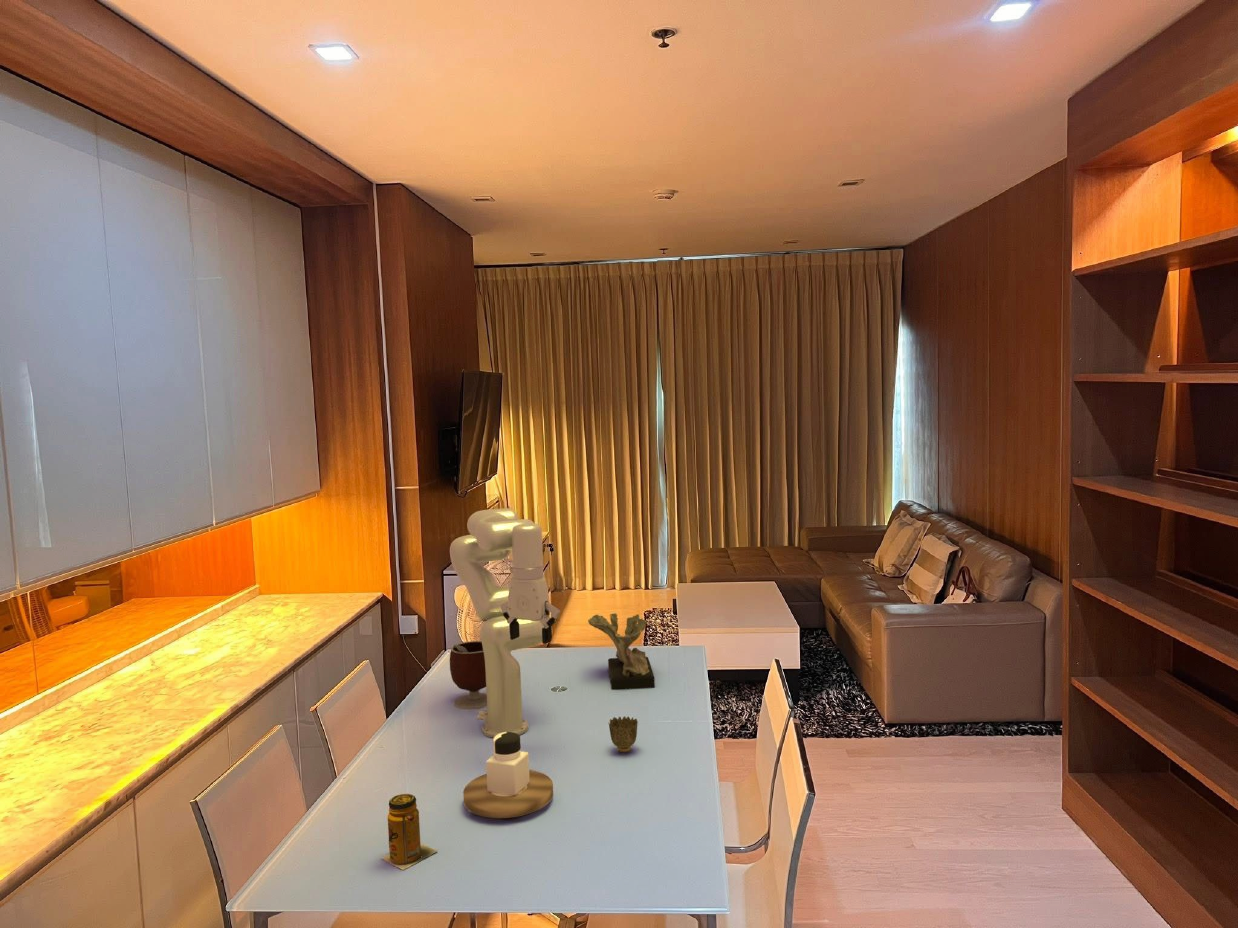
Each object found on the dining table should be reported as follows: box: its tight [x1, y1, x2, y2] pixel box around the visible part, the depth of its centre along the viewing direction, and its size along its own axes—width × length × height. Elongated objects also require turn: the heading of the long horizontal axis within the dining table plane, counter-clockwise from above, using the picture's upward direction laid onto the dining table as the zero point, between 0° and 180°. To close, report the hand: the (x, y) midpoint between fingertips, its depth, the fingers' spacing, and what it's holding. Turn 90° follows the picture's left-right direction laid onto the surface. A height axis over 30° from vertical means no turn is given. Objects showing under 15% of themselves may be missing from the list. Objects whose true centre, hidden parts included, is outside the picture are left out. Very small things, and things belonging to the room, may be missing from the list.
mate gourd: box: [449, 640, 487, 710], centre depth 254 cm, size 16×14×20 cm
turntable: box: [462, 769, 554, 819], centre depth 188 cm, size 20×20×6 cm
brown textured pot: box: [608, 715, 639, 754], centre depth 214 cm, size 8×7×8 cm
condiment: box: [381, 793, 438, 871], centre depth 167 cm, size 7×8×12 cm
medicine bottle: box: [485, 732, 530, 796], centre depth 188 cm, size 7×7×12 cm
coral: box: [587, 613, 656, 691], centre depth 270 cm, size 25×20×22 cm
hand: (530, 640), depth 211 cm, fingers open, 9 cm apart
